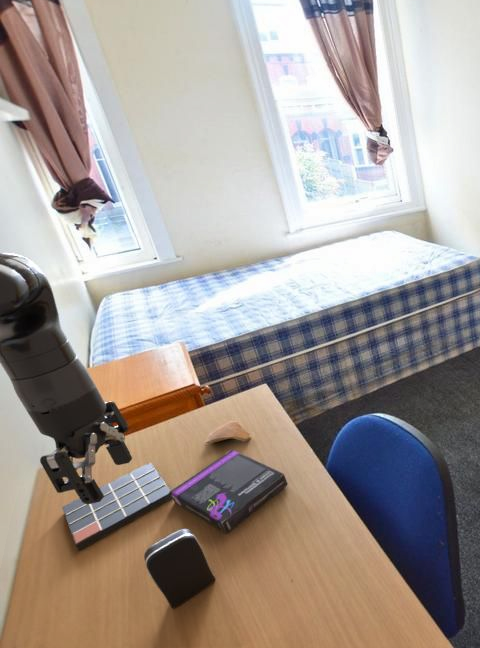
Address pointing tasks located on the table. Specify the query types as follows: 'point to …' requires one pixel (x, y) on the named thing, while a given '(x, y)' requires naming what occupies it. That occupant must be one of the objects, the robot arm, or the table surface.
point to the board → (116, 505)
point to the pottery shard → (228, 433)
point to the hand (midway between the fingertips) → (110, 481)
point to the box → (229, 490)
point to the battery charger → (178, 567)
